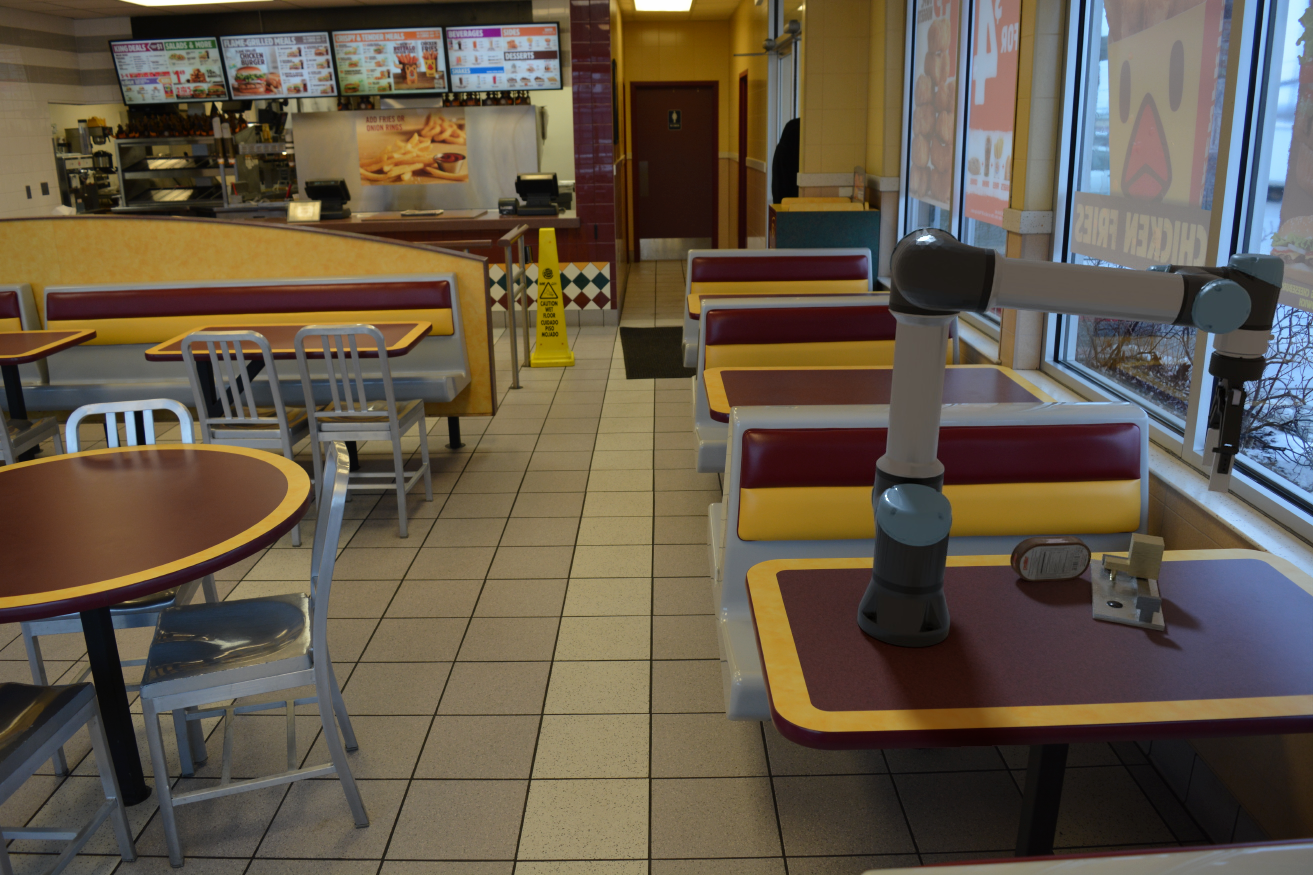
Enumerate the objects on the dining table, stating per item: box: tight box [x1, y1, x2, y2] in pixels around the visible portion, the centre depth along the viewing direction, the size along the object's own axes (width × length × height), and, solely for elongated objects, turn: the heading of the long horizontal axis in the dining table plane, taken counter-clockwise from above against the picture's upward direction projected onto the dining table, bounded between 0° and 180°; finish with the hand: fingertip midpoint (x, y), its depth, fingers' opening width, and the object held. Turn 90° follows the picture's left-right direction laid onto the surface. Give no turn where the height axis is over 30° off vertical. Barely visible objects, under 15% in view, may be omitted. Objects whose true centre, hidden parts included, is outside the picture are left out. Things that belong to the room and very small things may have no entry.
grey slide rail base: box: [1101, 553, 1163, 624], centre depth 173 cm, size 8×24×5 cm, turn 158°
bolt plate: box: [1090, 558, 1166, 632], centre depth 174 cm, size 11×24×1 cm, turn 158°
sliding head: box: [1104, 532, 1165, 581], centre depth 175 cm, size 9×4×9 cm, turn 68°
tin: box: [1009, 535, 1092, 582], centre depth 179 cm, size 15×3×8 cm, turn 97°
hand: (1213, 478), depth 159 cm, fingers open, 13 cm apart
